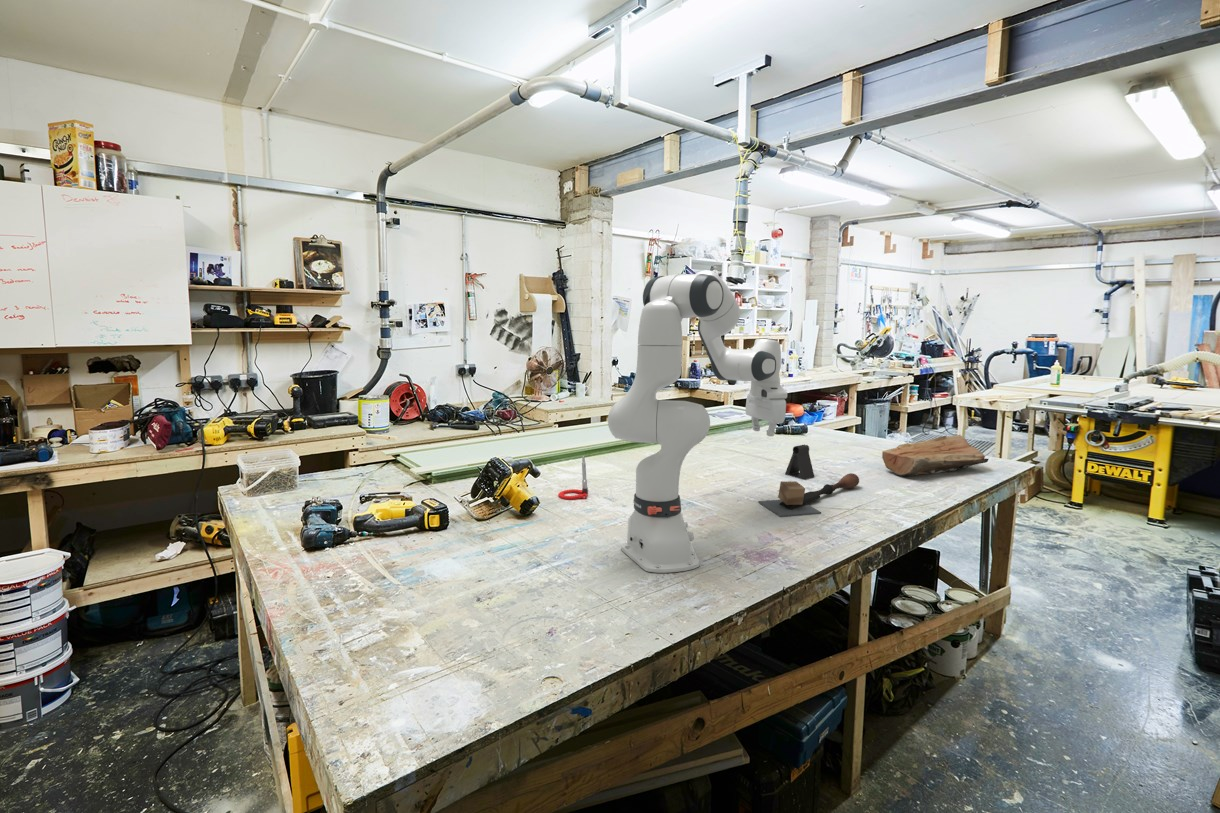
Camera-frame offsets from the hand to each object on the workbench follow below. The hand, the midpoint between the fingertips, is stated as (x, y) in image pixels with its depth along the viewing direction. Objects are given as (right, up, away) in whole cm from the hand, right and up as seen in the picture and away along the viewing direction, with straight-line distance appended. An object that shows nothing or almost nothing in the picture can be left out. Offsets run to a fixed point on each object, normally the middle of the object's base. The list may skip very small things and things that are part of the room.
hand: (763, 433), depth 180 cm
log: (+81, -18, +45) cm, 94 cm away
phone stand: (+24, -18, +37) cm, 48 cm away
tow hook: (-61, -22, +11) cm, 66 cm away
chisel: (+23, -22, +11) cm, 34 cm away
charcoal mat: (+8, -24, 0) cm, 25 cm away
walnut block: (+9, -21, 0) cm, 23 cm away
